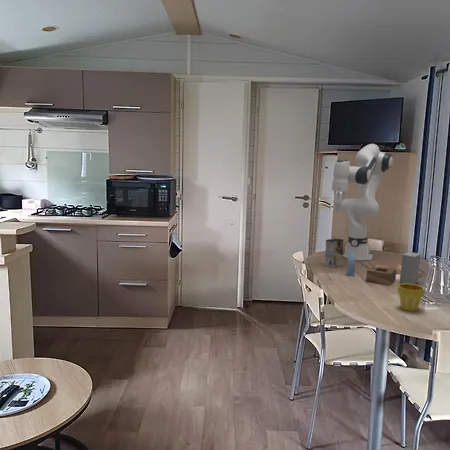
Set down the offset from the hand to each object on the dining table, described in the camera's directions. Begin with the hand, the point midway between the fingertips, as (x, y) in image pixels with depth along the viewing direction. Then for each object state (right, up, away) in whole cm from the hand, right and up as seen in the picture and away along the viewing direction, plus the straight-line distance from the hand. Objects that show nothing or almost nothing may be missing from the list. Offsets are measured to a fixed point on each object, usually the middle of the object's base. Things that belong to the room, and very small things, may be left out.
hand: (337, 212), depth 249 cm
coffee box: (+1, -32, +14) cm, 35 cm away
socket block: (+18, -37, -19) cm, 46 cm away
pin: (+5, -35, -8) cm, 37 cm away
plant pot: (+15, -44, -61) cm, 77 cm away
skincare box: (+32, -38, -22) cm, 54 cm away
